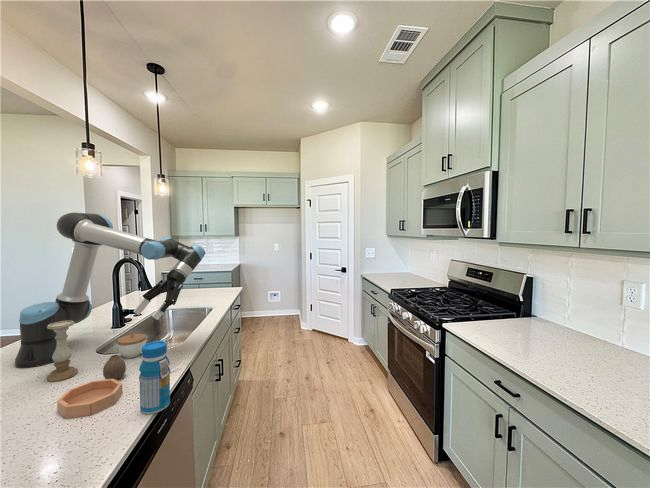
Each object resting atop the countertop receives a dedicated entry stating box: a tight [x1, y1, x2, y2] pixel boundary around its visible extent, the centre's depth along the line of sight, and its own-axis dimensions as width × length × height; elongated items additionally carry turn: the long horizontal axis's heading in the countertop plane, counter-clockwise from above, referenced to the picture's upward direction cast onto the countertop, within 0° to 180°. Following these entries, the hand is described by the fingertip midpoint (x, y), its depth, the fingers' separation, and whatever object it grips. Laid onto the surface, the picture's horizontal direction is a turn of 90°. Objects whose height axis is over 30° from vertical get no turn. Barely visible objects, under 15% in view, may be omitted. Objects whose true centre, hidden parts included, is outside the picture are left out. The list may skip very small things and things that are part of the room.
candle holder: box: [46, 321, 79, 383], centre depth 107 cm, size 9×9×20 cm
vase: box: [102, 354, 127, 381], centre depth 105 cm, size 7×7×9 cm
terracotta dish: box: [56, 378, 123, 419], centre depth 91 cm, size 15×15×4 cm
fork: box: [170, 358, 191, 374], centre depth 110 cm, size 3×20×2 cm, turn 162°
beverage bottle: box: [138, 340, 171, 415], centre depth 89 cm, size 8×8×20 cm
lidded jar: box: [116, 333, 147, 359], centre depth 126 cm, size 11×11×9 cm
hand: (145, 315), depth 114 cm, fingers open, 13 cm apart
